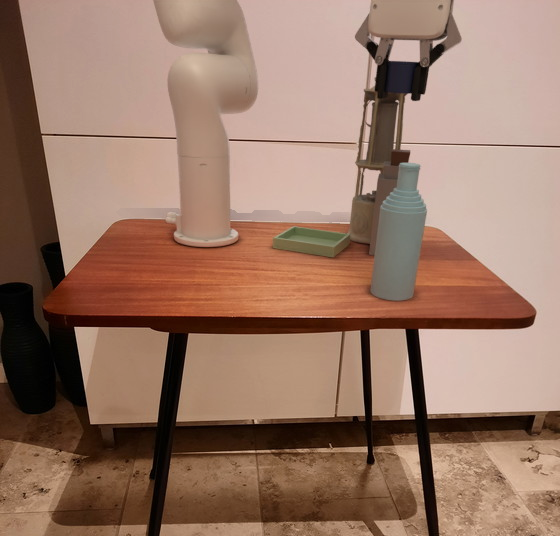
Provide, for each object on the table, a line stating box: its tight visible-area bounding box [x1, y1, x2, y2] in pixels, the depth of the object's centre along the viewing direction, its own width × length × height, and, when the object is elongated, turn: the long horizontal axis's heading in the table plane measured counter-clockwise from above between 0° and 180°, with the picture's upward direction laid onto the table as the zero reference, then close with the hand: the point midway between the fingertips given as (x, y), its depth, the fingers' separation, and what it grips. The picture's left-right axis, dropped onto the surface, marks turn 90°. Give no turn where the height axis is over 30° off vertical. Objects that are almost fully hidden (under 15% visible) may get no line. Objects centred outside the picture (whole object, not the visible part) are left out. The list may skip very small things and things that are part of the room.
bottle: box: [369, 162, 428, 302], centre depth 80 cm, size 7×7×19 cm
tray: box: [272, 225, 351, 258], centre depth 105 cm, size 12×10×2 cm
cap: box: [385, 60, 419, 95], centre depth 74 cm, size 4×4×4 cm
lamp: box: [346, 76, 408, 245], centre depth 106 cm, size 10×13×30 cm
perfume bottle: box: [368, 148, 411, 256], centre depth 100 cm, size 7×7×18 cm
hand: (398, 97), depth 75 cm, fingers closed on cap, 4 cm apart
